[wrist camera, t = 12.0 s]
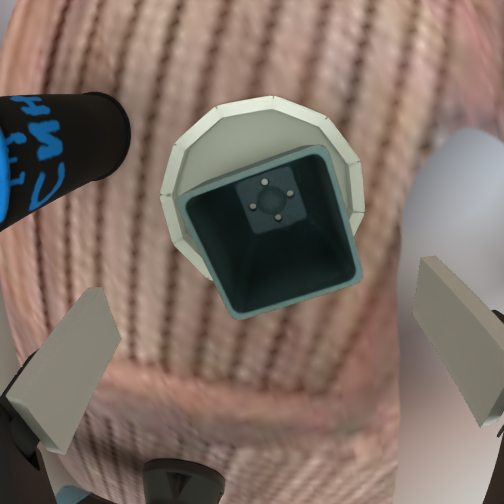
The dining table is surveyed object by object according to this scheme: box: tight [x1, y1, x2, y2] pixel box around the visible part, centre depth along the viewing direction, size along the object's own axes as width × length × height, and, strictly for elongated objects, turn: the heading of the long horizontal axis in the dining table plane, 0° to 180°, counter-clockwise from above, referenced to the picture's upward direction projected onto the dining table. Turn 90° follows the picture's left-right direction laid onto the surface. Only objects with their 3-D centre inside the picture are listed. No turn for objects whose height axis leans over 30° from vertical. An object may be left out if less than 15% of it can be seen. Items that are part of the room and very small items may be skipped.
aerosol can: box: [0, 92, 130, 232], centre depth 16 cm, size 8×8×20 cm
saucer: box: [160, 96, 365, 281], centre depth 26 cm, size 16×16×2 cm
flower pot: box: [176, 144, 363, 320], centre depth 22 cm, size 9×9×9 cm
